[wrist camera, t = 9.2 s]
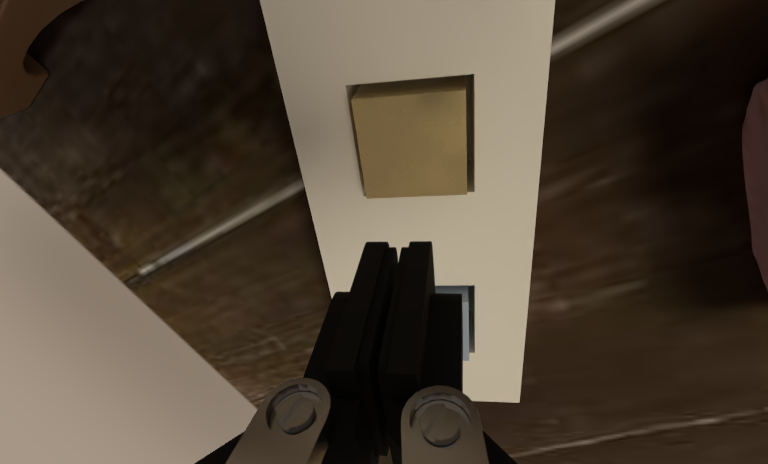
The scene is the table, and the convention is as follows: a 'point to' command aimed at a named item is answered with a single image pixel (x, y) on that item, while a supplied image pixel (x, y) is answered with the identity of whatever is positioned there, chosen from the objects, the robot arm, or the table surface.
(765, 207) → the face sculpture
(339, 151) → the button console
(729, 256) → the table surface
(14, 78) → the wooden toy
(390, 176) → the brass button
